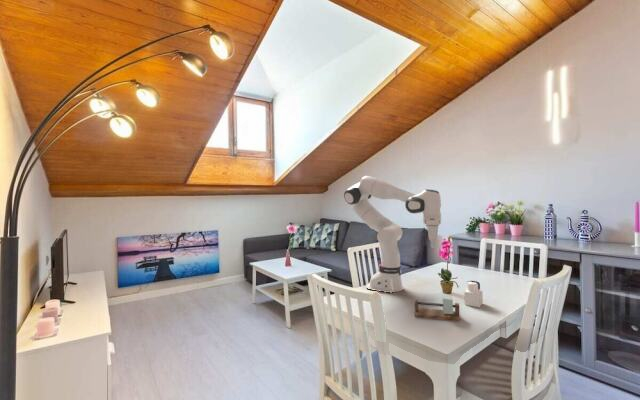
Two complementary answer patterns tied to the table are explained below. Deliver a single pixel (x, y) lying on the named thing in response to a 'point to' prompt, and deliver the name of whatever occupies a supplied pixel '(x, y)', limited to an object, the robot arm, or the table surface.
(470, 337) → the table surface
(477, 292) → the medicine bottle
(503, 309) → the table surface
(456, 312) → the rail
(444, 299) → the marker sleeve
